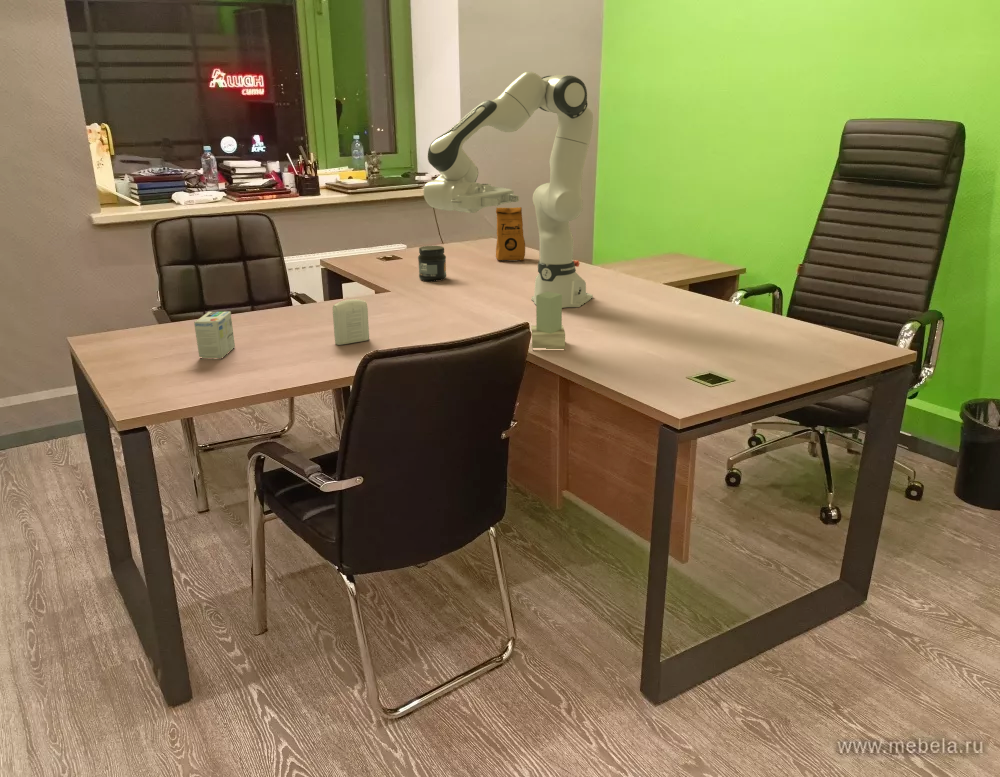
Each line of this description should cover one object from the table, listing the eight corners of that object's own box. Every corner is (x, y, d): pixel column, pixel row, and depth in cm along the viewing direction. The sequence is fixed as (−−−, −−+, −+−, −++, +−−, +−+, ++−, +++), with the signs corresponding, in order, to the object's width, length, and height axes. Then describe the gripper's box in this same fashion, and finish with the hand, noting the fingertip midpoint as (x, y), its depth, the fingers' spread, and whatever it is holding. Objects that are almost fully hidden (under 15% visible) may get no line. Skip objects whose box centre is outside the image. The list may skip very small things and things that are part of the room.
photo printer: (365, 337, 239) (362, 295, 235) (371, 340, 236) (369, 298, 232) (332, 343, 234) (329, 301, 230) (338, 346, 231) (335, 304, 226)
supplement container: (446, 275, 317) (445, 244, 312) (446, 281, 307) (445, 250, 302) (419, 276, 316) (418, 245, 312) (418, 282, 306) (416, 250, 302)
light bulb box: (212, 347, 231) (207, 310, 227) (236, 347, 231) (231, 310, 227) (198, 359, 221) (192, 321, 217) (223, 359, 221) (217, 321, 217)
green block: (547, 325, 231) (547, 291, 227) (561, 329, 228) (561, 294, 224) (536, 330, 227) (536, 295, 223) (550, 333, 224) (550, 298, 220)
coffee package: (525, 262, 339) (525, 208, 332) (495, 262, 340) (494, 208, 332) (525, 257, 349) (525, 205, 341) (496, 257, 349) (495, 205, 341)
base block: (531, 342, 234) (531, 325, 232) (562, 342, 234) (562, 325, 232) (532, 351, 225) (532, 334, 223) (564, 351, 225) (565, 334, 223)
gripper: (447, 190, 231) (486, 193, 224) (490, 183, 247) (528, 185, 239) (447, 212, 233) (486, 216, 226) (490, 204, 249) (527, 207, 241)
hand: (508, 200), depth 233 cm, fingers open, 8 cm apart
